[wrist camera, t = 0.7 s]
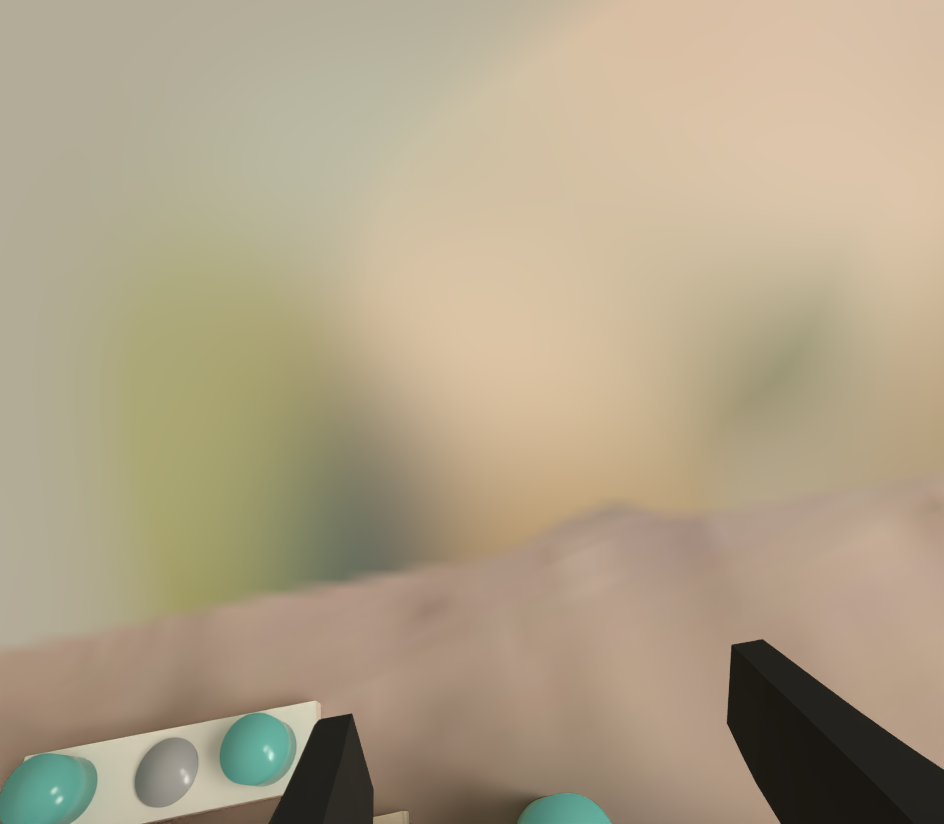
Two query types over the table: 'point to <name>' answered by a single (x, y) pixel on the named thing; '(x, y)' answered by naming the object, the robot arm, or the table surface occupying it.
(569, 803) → the pin
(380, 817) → the beige compartment tray
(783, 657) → the robot arm
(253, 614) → the table surface
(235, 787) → the pattern tile
